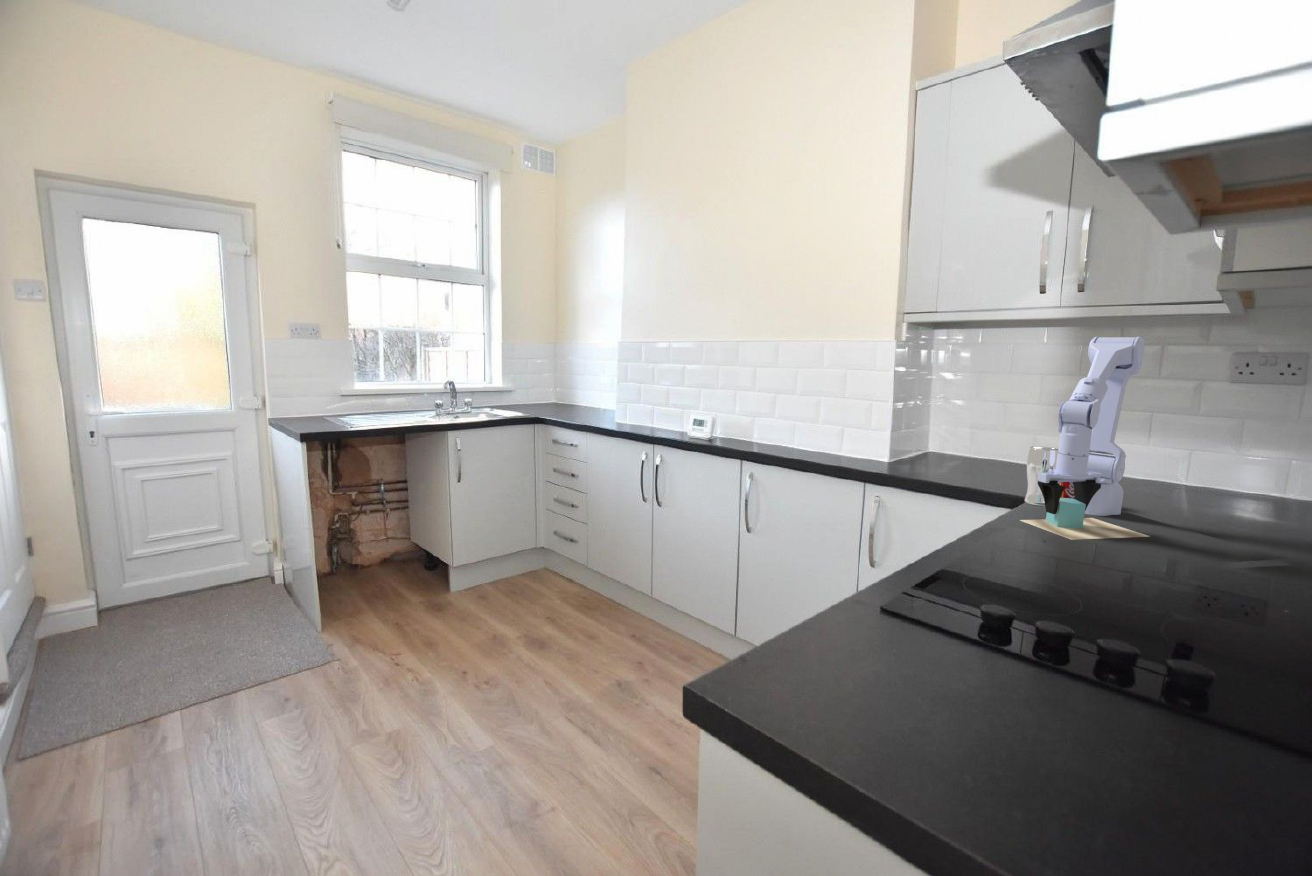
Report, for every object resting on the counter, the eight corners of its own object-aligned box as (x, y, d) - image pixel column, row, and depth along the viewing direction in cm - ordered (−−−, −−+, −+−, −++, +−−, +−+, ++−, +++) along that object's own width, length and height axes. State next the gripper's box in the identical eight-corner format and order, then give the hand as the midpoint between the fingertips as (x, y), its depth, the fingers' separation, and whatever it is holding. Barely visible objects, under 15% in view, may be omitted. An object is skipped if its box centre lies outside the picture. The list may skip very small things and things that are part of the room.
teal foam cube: (1070, 521, 136) (1073, 498, 135) (1082, 528, 131) (1085, 504, 130) (1045, 520, 137) (1048, 497, 136) (1057, 526, 132) (1060, 502, 131)
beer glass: (1052, 502, 158) (1059, 447, 156) (1054, 508, 152) (1061, 451, 150) (1022, 498, 162) (1028, 445, 159) (1022, 503, 156) (1029, 448, 153)
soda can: (1077, 500, 161) (1083, 457, 159) (1075, 504, 156) (1082, 460, 155) (1050, 496, 165) (1056, 454, 163) (1048, 500, 160) (1053, 457, 158)
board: (1091, 521, 140) (1094, 501, 140) (1149, 540, 127) (1153, 518, 126) (1019, 524, 137) (1021, 503, 136) (1071, 544, 123) (1074, 521, 122)
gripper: (1084, 450, 137) (1076, 506, 139) (1030, 451, 134) (1023, 508, 136) (1112, 456, 130) (1104, 515, 132) (1056, 457, 127) (1049, 517, 129)
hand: (1065, 512), depth 134 cm, fingers open, 7 cm apart
